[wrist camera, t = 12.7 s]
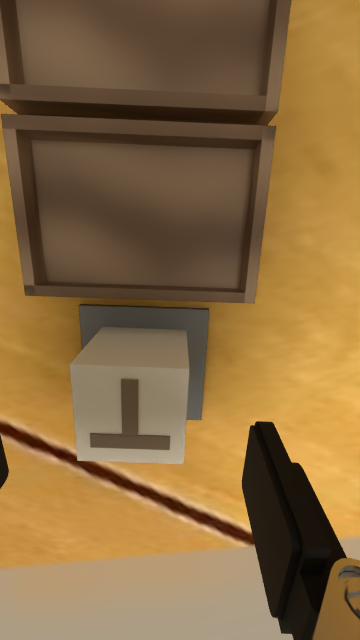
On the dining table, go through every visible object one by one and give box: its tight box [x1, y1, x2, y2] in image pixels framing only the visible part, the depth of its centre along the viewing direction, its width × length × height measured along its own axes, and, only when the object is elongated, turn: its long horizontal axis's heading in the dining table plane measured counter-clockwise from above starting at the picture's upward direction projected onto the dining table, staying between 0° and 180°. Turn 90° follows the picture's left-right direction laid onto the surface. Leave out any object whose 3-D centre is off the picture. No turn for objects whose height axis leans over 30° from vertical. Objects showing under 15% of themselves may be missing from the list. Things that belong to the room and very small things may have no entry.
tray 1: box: [0, 0, 291, 126], centre depth 12 cm, size 9×13×2 cm
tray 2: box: [1, 114, 276, 303], centre depth 15 cm, size 9×13×2 cm
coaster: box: [79, 304, 209, 420], centre depth 18 cm, size 8×8×1 cm
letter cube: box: [70, 327, 189, 464], centre depth 15 cm, size 6×6×6 cm
